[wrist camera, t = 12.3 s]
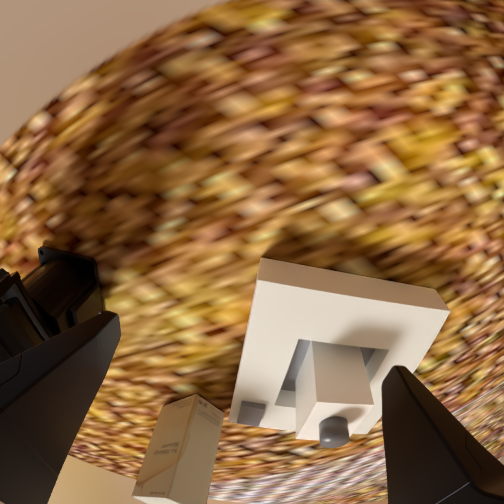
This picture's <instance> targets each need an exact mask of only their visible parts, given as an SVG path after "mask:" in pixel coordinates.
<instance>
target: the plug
mask: <svg viewBox="0 0 504 504" xmlns="http://www.w3.org/2000/svg"><path fill="white" fill-rule="evenodd" d="M295 382H296V439H306V440H320V445H321V446H322V447H325V448H336V447H340V446H343V445H345V444H347V443H348V442H349V440H350V436H351V435H352V433H353V432H354V431H355V430H356V428H357V427H358V426H359V424H360V423H361V422H362V421H363V419H364V418H365V417H366V415H367V414H368V413H369V411H370V410H371V408H372V407H373V406H374V402H373V397H372V393H371V389H370V384H369V380H368V376H367V372H366V368H365V364H364V360H363V356H362V352H361V348H360V347H358V346H349V345H340V344H332V343H325V342H317V341H311V342H310V345H309V348H308V350H307V353H306V355H305V358H304V361H303V363H302V366H301V368H300V371H299V373H298V376H297V378H296V381H295Z"/></svg>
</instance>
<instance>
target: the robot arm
mask: <svg viewBox="0 0 504 504" xmlns="http://www.w3.org/2000/svg"><path fill="white" fill-rule="evenodd" d="M38 254H39V260H40V265H39V266H38V267H37V268H35V269H34V270H33V271H32V272H30V273H29V274H28V275H27V276H26V277H25V278H23V279H22V280H21V279H20V278H21V277H20V275H19V273H18V271H16V272H14V273H12V274H9V272H7V271H5V270H4V269H3V268H1V269H0V504H47V503H48V501H49V498H50V496H51V493H52V490H53V488H54V486H55V483H56V481H57V478H58V475H59V473H60V471H61V469H62V466H63V464H64V462H65V459H66V457H67V455H68V453H69V450H70V448H71V446H72V444H73V442H74V439H75V437H76V435H77V433H78V431H79V429H80V427H81V424H82V422H83V420H84V418H85V416H86V414H87V412H88V410H89V408H90V406H91V404H92V402H93V400H94V398H95V396H96V394H97V392H98V390H99V388H100V386H101V384H102V382H103V380H104V378H105V376H106V373H107V371H108V368H109V366H110V363H111V360H112V358H113V355H114V353H115V350H116V348H117V345H118V343H119V340H120V336H121V330H120V321H119V316H118V314H117V313H114V312H111V311H104V312H102V309H103V307H102V301H101V293H100V286H99V282H98V274H97V264H96V261H95V260H94V259H93V258H90V257H86V256H82V255H78V254H74V253H70V252H66V251H62V250H58V249H54V248H50V247H46V246H41V247H40V248H39V249H38ZM89 263H90V264H91V265H92V266H91V265H90V264H89ZM381 393H382V428H383V438H384V448H385V459H386V472H387V488H388V504H504V465H503V464H502V463H501V462H500V461H498V460H497V459H496V458H495V457H494V456H493V455H492V454H491V453H490V452H489V451H487V450H486V449H485V448H484V447H483V446H482V445H481V444H480V443H479V442H478V441H477V440H476V439H475V438H474V437H473V436H472V435H471V434H470V433H469V431H468V430H466V428H465V427H464V426H463V425H462V424H461V423H460V422H459V421H458V420H457V419H456V418H455V417H454V416H453V415H452V414H451V413H450V412H449V411H448V409H447V408H446V407H445V406H444V405H443V404H442V403H441V402H440V401H439V400H438V399H437V398H436V397H435V396H434V395H433V394H432V393H431V392H430V391H429V390H428V389H427V388H426V387H425V386H424V385H423V384H422V383H421V382H420V381H419V380H418V379H417V378H416V377H415V376H414V375H413V374H412V373H411V372H410V371H409V370H408V369H407V368H406V367H405V366H402V365H394V366H393V367H392V368H391V369H390V371H389V372H388V374H387V375H386V377H385V378H384V380H383V382H382V386H381Z"/></svg>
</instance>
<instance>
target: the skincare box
mask: <svg viewBox="0 0 504 504" xmlns="http://www.w3.org/2000/svg"><path fill="white" fill-rule="evenodd" d="M223 418H224V413H223V412H222V411H220V410H219V409H218V408H216V407H215V406H213V405H212V404H210V403H209V402H208V401H206V400H205V399H203V398H202V397H200V396H199V395H197V394H194V395H192V396H189V397H186V398H184V399H181V400H178V401H176V402H173V403H170V404H167V405H165V406H163V407H162V409H161V412H160V414H159V417H158V420H157V423H156V426H155V428H154V431H153V434H152V437H151V440H150V443H149V446H148V449H147V451H146V454H145V457H144V460H143V463H142V466H141V469H140V472H139V475H138V478H137V481H136V484H135V487H134V490H133V494H132V497H134V498H136V499H138V500H141V501H143V502H145V503H147V504H207V499H208V494H209V489H210V484H211V479H212V474H213V469H214V463H215V459H216V454H217V448H218V443H219V438H220V433H221V428H222V423H223Z"/></svg>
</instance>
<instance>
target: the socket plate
mask: <svg viewBox="0 0 504 504" xmlns="http://www.w3.org/2000/svg"><path fill="white" fill-rule="evenodd" d="M449 313H450V310H449V308H448V307H447V305H446V304H445V303H444V301H443V300H442V298H441V297H440V295H439V294H438V293H437V291H436V290H435V289H432V288H426V287H421V286H415V285H409V284H404V283H398V282H393V281H387V280H382V279H376V278H371V277H365V276H360V275H354V274H349V273H343V272H338V271H333V270H327V269H322V268H316V267H311V266H305V265H300V264H294V263H289V262H284V261H278V260H273V259H267V258H262V257H261V259H260V264H259V269H258V274H257V279H256V284H255V289H254V294H253V300H252V305H251V310H250V315H249V320H248V324H247V329H246V334H245V339H244V344H243V349H242V354H241V359H240V364H239V369H238V374H237V379H236V383H235V388H234V393H233V398H232V403H231V409H230V415H229V420H228V422H232V423H237V424H243V425H250V426H256V427H264V428H271V429H280V430H289V431H296V382H295V381H296V378H297V376H298V373H299V371H300V368H301V366H302V363H303V361H304V358H305V355H306V353H307V350H308V348H309V345H310V342H311V341H317V342H325V343H332V344H340V345H349V346H358V347H360V348H361V352H362V356H363V360H364V364H365V368H366V372H367V376H368V380H369V384H370V389H371V393H372V397H373V402H374V406H373V407H372V408H371V410H370V411H369V413H368V414H367V415H366V417H365V418H364V419H363V421H362V422H361V423H360V424H359V426H358V427H357V428H356V430H355V431H354V432H353V433H352V434H367V433H368V432H369V431H370V429H371V428H372V427H373V426H374V425H375V423H376V422H377V421H378V420H379V419H380V417H381V416H382V393H381V386H382V382H383V380H384V378H385V377H386V375H387V374H388V372H389V371H390V369H391V368H392V367H393V366H394V365H402V366H405V367H406V368H407V369H408V370H409V371H410V372H411V373H412V374H413V373H414V371H415V370H416V368H417V367H418V365H419V363H420V362H421V360H422V359H423V357H424V356H425V354H426V352H427V351H428V349H429V348H430V346H431V344H432V343H433V341H434V339H435V338H436V336H437V334H438V332H439V331H440V329H441V327H442V325H443V324H444V322H445V320H446V318H447V316H448V314H449Z"/></svg>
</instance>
